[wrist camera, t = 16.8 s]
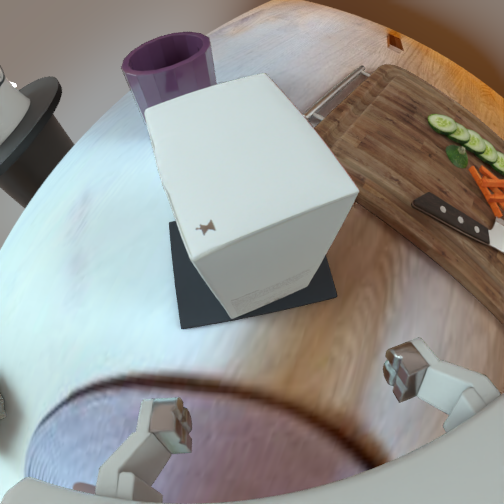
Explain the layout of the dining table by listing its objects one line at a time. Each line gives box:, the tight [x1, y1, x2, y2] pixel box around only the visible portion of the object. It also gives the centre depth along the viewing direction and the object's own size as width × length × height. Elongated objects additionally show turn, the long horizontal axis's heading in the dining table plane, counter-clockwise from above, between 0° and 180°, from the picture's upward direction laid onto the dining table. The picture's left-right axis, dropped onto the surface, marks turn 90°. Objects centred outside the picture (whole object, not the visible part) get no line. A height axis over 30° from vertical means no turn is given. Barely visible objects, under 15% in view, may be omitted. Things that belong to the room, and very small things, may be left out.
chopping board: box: [303, 64, 504, 325], centre depth 23 cm, size 45×27×3 cm, turn 51°
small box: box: [144, 73, 359, 319], centre depth 16 cm, size 8×6×13 cm
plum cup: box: [121, 32, 217, 129], centre depth 25 cm, size 9×9×9 cm
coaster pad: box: [169, 221, 337, 329], centre depth 22 cm, size 12×9×1 cm
